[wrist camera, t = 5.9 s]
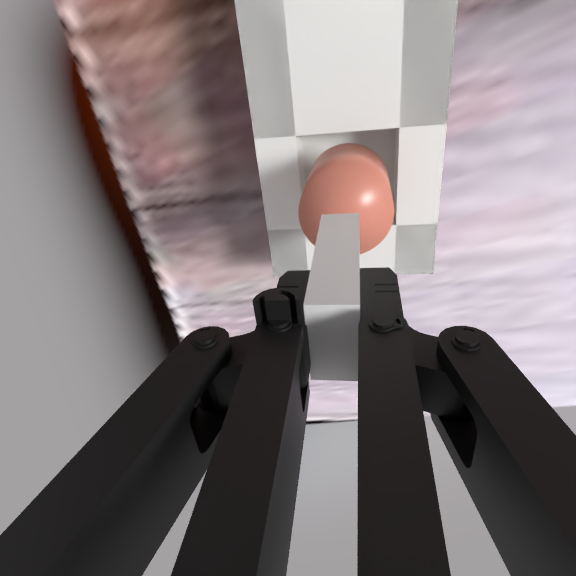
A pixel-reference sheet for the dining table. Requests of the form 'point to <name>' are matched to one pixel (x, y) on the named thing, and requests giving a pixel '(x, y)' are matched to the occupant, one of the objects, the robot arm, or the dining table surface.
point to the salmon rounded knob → (348, 193)
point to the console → (350, 110)
